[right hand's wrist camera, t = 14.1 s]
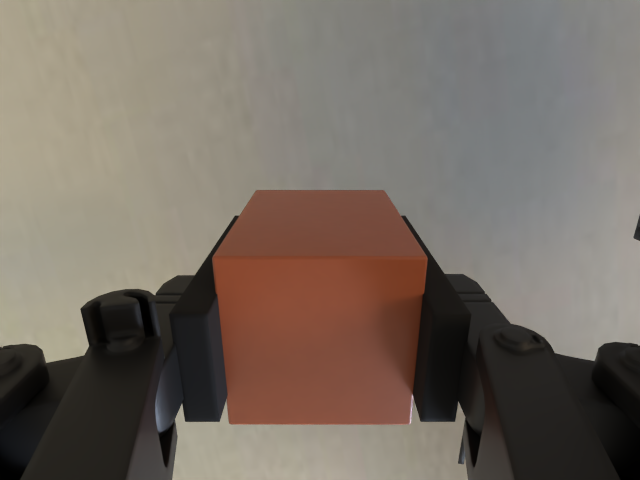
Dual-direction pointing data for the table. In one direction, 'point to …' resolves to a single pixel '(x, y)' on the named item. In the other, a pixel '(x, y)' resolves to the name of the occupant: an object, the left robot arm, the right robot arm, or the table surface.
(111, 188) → the table surface
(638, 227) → the tote
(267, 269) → the terracotta block
